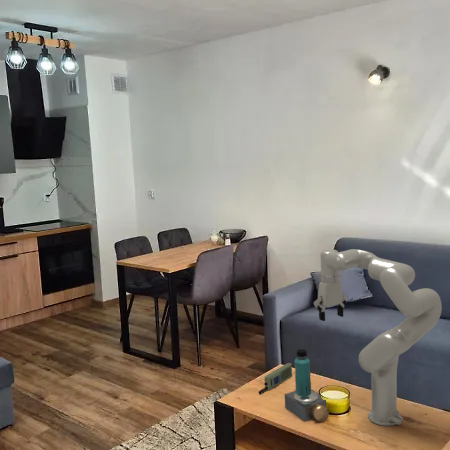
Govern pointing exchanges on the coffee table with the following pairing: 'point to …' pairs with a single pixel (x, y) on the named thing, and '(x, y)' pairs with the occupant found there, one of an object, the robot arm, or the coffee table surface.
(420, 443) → the coffee table surface
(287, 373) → the handheld radio
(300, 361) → the beverage bottle
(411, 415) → the coffee table surface
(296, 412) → the motor housing
